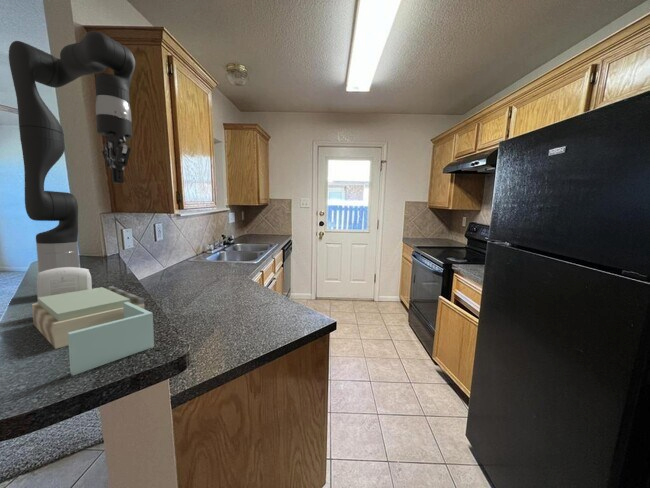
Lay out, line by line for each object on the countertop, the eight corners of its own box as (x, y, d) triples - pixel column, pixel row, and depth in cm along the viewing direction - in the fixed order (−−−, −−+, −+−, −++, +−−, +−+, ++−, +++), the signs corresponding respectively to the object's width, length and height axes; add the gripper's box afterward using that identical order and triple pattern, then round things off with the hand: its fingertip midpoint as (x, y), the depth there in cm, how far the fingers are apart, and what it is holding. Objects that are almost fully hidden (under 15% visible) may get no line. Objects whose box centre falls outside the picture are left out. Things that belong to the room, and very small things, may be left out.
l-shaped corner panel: (129, 334, 59) (127, 301, 58) (154, 349, 52) (152, 312, 51) (53, 356, 49) (50, 317, 48) (72, 379, 42) (69, 334, 41)
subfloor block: (33, 324, 61) (31, 299, 61) (113, 307, 74) (112, 286, 73) (55, 349, 50) (53, 317, 50) (145, 323, 63) (144, 298, 62)
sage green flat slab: (37, 303, 61) (37, 297, 61) (102, 292, 71) (102, 287, 71) (58, 321, 51) (57, 313, 51) (130, 305, 61) (129, 299, 61)
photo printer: (94, 308, 73) (91, 264, 72) (91, 312, 70) (88, 267, 69) (42, 315, 68) (38, 267, 66) (36, 320, 64) (32, 270, 63)
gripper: (88, 118, 71) (92, 183, 73) (105, 107, 64) (109, 179, 65) (121, 127, 77) (124, 186, 79) (140, 118, 70) (143, 183, 72)
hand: (117, 183), depth 72 cm, fingers closed
